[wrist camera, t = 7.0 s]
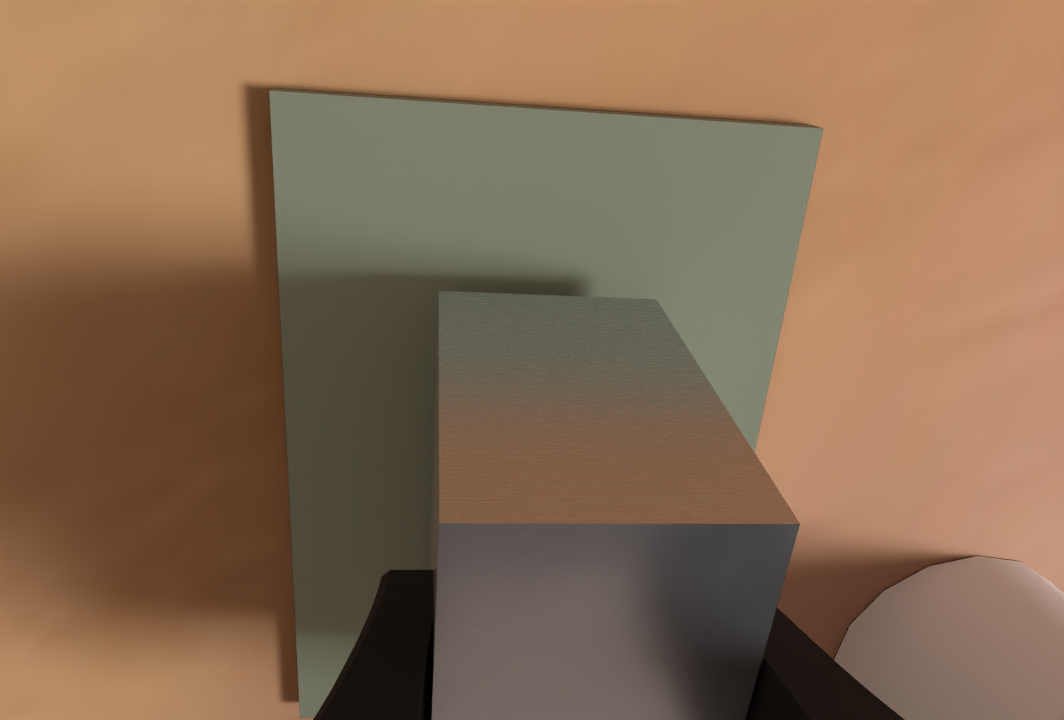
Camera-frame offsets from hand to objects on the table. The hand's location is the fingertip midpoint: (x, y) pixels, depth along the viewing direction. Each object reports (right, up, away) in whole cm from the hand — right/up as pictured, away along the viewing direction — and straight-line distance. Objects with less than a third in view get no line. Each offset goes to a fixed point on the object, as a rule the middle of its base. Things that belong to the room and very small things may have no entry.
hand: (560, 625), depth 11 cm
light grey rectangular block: (0, +1, +4) cm, 4 cm away
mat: (-1, +2, +5) cm, 5 cm away
